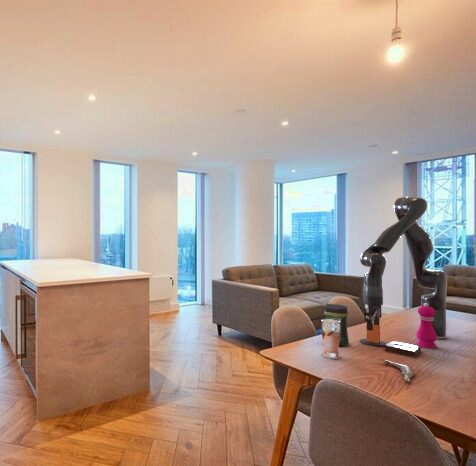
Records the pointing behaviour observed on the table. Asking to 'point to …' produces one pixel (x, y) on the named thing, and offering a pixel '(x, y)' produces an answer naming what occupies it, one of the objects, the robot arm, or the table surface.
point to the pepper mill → (426, 327)
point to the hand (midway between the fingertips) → (373, 328)
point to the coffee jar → (338, 319)
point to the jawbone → (405, 369)
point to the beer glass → (331, 338)
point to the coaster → (373, 343)
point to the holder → (403, 348)
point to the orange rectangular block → (373, 334)
